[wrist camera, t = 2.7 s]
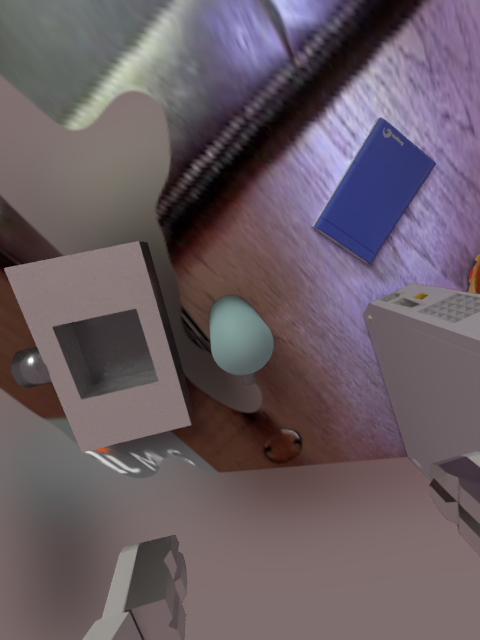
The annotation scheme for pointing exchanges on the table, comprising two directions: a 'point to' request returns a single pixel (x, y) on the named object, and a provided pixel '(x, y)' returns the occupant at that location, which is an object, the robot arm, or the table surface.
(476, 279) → the vessel
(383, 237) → the hard drive
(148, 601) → the robot arm
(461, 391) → the game console
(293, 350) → the table surface
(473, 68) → the table surface
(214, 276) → the table surface
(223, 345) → the toggle switch lever
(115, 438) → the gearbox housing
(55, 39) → the table surface
